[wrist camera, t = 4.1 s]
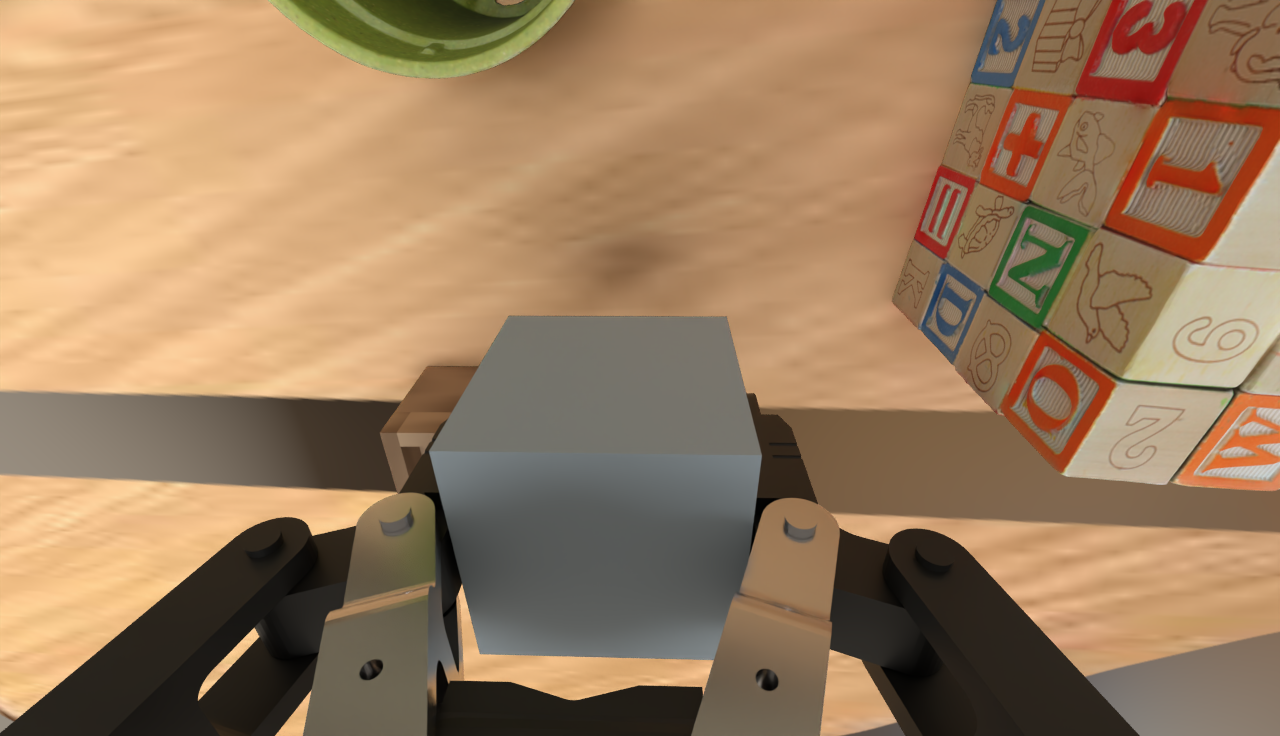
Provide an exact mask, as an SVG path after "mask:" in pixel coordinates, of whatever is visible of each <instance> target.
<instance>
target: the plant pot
mask: <svg viewBox="0 0 1280 736" xmlns="http://www.w3.org/2000/svg"><path fill="white" fill-rule="evenodd" d="M268 1H269V2H270V3H271V4H273V5H274V6H275V7H276V8H277V9H278V10H279V11H280V12H281V13H282V14H283V15H285V16H286V17H287V18H288V19H290V20H291V21H292V22H293V23H295V24H296V25H297V26H298V27H299V28H300V29H302V30H303V31H305V32H306V33H308V34H309V35H311V36H312V37H314V38H315V39H317V40H318V41H320V42H321V43H322V44H324V45H326V46H327V47H329V48H331V49H332V50H334V51H336V52H337V53H339V54H341V55H343V56H345V57H347V58H349V59H351V60H353V61H355V62H357V63H359V64H362V65H364V66H367V67H370V68H372V69H376V70H379V71H383V72H387V73H391V74H395V75H400V76H406V77H414V78H438V79H440V78H451V77H459V76H465V75H469V74H474V73H478V72H481V71H484V70H487V69H490V68H492V67H496V66H498V65H500V64H502V63H504V62H506V61H508V60H510V59H512V58H513V57H515V56H517V55H518V54H520V53H521V52H523V51H525V50H526V49H528V48H529V47H531V46H532V45H533V44H534V43H536V42H537V41H538V40H539V39H540V38H542V37H543V36H544V35H545V34H546V33H547V32H548V31H549V30H550V29H551V28H552V27H553V26H554V25H555V24H556V23H557V22H558V21H559V20H560V19H561V18H562V16H563V15H564V14H565V13H566V11H567V10H568V9H569V8H570V6H571V5H572V4H573V2H574V1H575V0H524V1H522V2H520V3H518V4H514V5H507V6H503V5H501V4H499V3H497V2H496V1H495V0H268Z"/></svg>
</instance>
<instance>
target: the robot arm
mask: <svg viewBox="0 0 1280 736" xmlns="http://www.w3.org/2000/svg"><path fill="white" fill-rule="evenodd" d="M746 395H747V399H748V403H749V407H750V411H751V415H752V419H753V423H754V426H755V430H756V434H757V438H758V442H759V446H760V450H761V454H762V458H761V466H760V474H759V482H758V490H757V498H756V506H755V514H754V522H753V530H752V538H751V546H750V554H749V560H748V564H747V567H746V571H745V574H744V577H743V581H742V584H741V587H740V590H739V592H738V591H736V592H735V594H734V596H733V599H732V602H731V605H730V609H729V612H728V615H727V618H726V622H725V625H724V628H723V632H722V635H721V638H720V642H719V645H718V648H717V652H716V655H715V658H714V661H713V665H712V668H711V671H710V675H709V678H708V681H707V685H706V688H705V691H704V695H703V691H702V687H679V686H640V685H639V686H635V687H631V688H627V689H623V690H618V691H614V692H610V693H606V694H602V695H597V696H593V697H589V698H585V699H581V700H567V699H563V698H560V697H557V696H554V695H550V694H547V693H544V692H541V691H538V690H535V689H531V688H528V687H525V686H522V685H519V684H515V683H512V682H486V681H464V667H463V648H462V628H461V609H460V600H459V597H458V593H459V590H460V587H461V585H462V581H461V577H460V573H459V569H458V565H457V561H456V557H455V553H454V549H453V545H452V541H451V537H450V533H449V529H448V525H447V521H446V517H445V513H444V509H443V505H442V501H441V497H440V493H439V489H438V485H437V481H436V477H435V473H434V469H433V465H432V461H431V457H430V453H429V450H430V449H431V447H432V445H433V444H434V442H435V440H436V439H437V437H438V435H439V433H440V432H441V430H442V428H443V427H444V425H445V423H446V422H447V420H448V419H447V420H445V421H444V422H443V423H441V424H440V426H439V428H438V429H437V431H436V433H435V434H434V436H433V438H432V442H430V443H429V444H428V446H427V448H426V449H425V453H424V454H422V456H421V458H420V459H419V461H418V463H417V464H416V466H415V468H414V469H413V471H412V473H411V474H410V476H409V478H408V479H407V481H406V483H405V484H404V486H403V488H402V489H401V491H400V493H399V494H396V495H392V496H389V497H387V498H384V499H382V500H380V501H378V502H377V503H375V504H373V505H372V506H371V507H369V508H368V509H367V510H366V511H365V512H364V513H363V514H362V516H361V517H360V518H359V520H358V522H357V526H354V527H350V528H346V529H341V530H337V531H332V532H328V533H323V534H318V535H314V536H312V534H311V532H310V530H309V527H308V525H307V524H306V523H305V522H304V521H302V520H300V519H297V518H292V517H283V518H276V519H272V520H268V521H265V522H262V523H260V524H257V525H255V526H253V527H251V528H249V529H247V530H246V531H244V532H242V533H241V534H239V535H238V536H237V537H235V538H234V539H233V540H232V541H231V542H229V543H228V544H227V545H226V546H225V547H223V548H222V549H221V550H220V551H219V552H217V553H216V554H215V555H214V556H213V557H211V558H210V559H209V560H208V561H207V562H205V563H204V564H203V565H202V566H201V567H199V568H198V569H197V570H196V571H195V572H193V573H192V574H191V575H190V576H189V577H187V578H186V579H185V580H184V581H183V582H181V583H180V584H179V585H178V586H177V587H175V588H174V589H173V590H172V591H170V592H169V593H168V594H167V595H166V596H164V597H163V598H162V599H161V600H160V601H158V602H157V603H156V604H155V605H154V606H152V607H151V608H150V609H149V610H148V611H146V612H145V613H144V614H143V615H142V616H140V617H139V618H138V619H137V620H136V621H134V622H133V623H132V624H131V625H130V626H128V627H127V628H126V629H125V630H124V631H122V632H121V633H120V634H119V635H118V636H116V637H115V638H114V639H113V640H112V641H110V642H109V643H108V644H107V645H106V646H104V647H103V648H102V649H101V650H100V651H98V652H97V653H96V654H95V655H94V656H92V657H91V658H90V659H89V660H88V661H86V662H85V663H84V664H83V665H82V666H80V667H79V668H78V669H77V670H76V671H74V672H73V673H72V674H71V675H69V676H68V677H67V678H66V679H65V680H63V681H62V682H61V683H60V684H59V685H57V686H56V687H55V688H54V689H53V690H51V691H50V692H49V693H48V694H47V695H45V696H44V697H43V698H42V699H41V700H39V701H38V702H37V703H36V704H35V705H33V706H32V707H31V708H30V709H29V710H27V711H26V712H25V713H24V714H23V715H21V716H20V717H19V718H18V719H17V720H15V721H14V722H13V723H12V724H11V725H9V726H8V727H7V728H6V729H5V730H3V731H2V732H1V733H0V736H275V735H276V734H277V732H278V731H279V730H280V729H281V727H282V726H283V725H284V724H285V722H286V721H287V720H288V719H289V717H290V716H291V715H292V714H293V712H294V711H295V710H296V709H297V707H298V706H299V705H300V704H301V702H302V701H303V700H304V698H305V697H306V696H307V695H308V693H309V692H310V691H311V690H312V691H311V696H310V701H309V707H308V712H307V717H306V722H305V727H304V733H303V736H820V730H821V721H822V712H823V703H824V694H825V685H826V677H827V668H828V659H829V650H830V649H831V650H834V651H837V652H840V653H843V654H846V655H849V656H852V657H855V658H858V659H861V660H862V662H863V664H864V666H865V668H866V669H867V671H868V673H869V674H870V676H871V678H872V679H873V681H874V683H875V685H876V686H877V688H878V690H879V691H880V693H881V695H882V697H883V698H884V700H885V702H886V703H887V705H888V707H889V709H890V710H891V712H892V714H893V715H894V717H895V719H896V721H897V722H898V724H899V725H900V727H901V729H902V731H903V732H904V734H905V736H1139V735H1138V733H1137V732H1136V731H1135V730H1134V729H1133V728H1132V727H1131V726H1130V725H1129V724H1128V723H1127V722H1126V721H1125V720H1124V718H1123V717H1122V716H1121V715H1120V714H1119V713H1118V712H1117V711H1116V710H1115V709H1114V708H1113V707H1112V706H1111V704H1109V703H1108V701H1107V700H1106V699H1105V698H1104V697H1103V696H1102V695H1101V694H1100V693H1099V692H1098V691H1097V689H1096V688H1095V687H1094V686H1093V685H1092V684H1091V683H1090V682H1089V681H1088V680H1087V679H1086V678H1085V677H1084V675H1083V674H1082V673H1081V672H1080V671H1079V670H1078V669H1077V668H1076V667H1075V666H1074V665H1073V664H1072V663H1071V662H1070V660H1069V659H1068V658H1067V657H1066V656H1065V655H1064V654H1063V653H1062V652H1061V651H1060V650H1059V649H1058V648H1057V646H1056V645H1055V644H1054V643H1053V642H1052V641H1051V640H1050V639H1049V638H1048V637H1047V636H1046V635H1045V634H1044V633H1043V631H1042V630H1041V629H1040V628H1039V627H1038V626H1037V625H1036V624H1035V623H1034V622H1033V621H1032V620H1031V619H1030V617H1029V616H1028V615H1027V614H1026V613H1025V612H1024V611H1023V610H1022V609H1021V608H1020V607H1019V606H1018V605H1017V604H1016V602H1015V601H1014V600H1013V599H1012V598H1011V597H1010V596H1009V595H1008V594H1007V593H1006V592H1005V591H1004V590H1003V588H1002V587H1001V586H1000V585H999V584H998V583H997V582H996V581H995V580H994V579H993V578H992V577H991V576H990V575H989V573H988V572H987V571H986V570H985V569H984V568H983V567H982V566H981V565H980V564H979V563H978V562H977V561H976V560H975V558H974V557H973V556H972V555H971V554H970V553H969V552H968V551H967V550H966V549H965V548H964V547H963V546H961V545H960V544H959V543H957V542H956V541H954V540H952V539H951V538H949V537H947V536H945V535H943V534H940V533H937V532H934V531H930V530H925V529H906V530H903V531H900V532H898V533H896V534H895V535H894V536H893V537H892V539H891V540H890V543H889V544H886V543H882V542H878V541H874V540H870V539H866V538H863V537H859V536H856V535H853V534H851V533H848V532H846V531H844V530H842V529H841V528H839V525H838V523H837V521H836V520H835V518H834V517H833V515H832V514H831V513H830V512H828V511H827V510H826V509H825V508H823V507H821V506H820V505H818V503H817V500H816V497H815V494H814V491H813V488H812V486H811V483H810V480H809V477H808V474H807V471H806V468H805V465H804V463H803V460H802V459H801V454H800V451H799V448H798V446H797V443H796V440H795V437H794V435H793V431H792V428H791V427H790V426H789V425H788V424H787V423H786V422H784V421H783V419H782V418H780V417H779V416H778V415H761V413H760V409H759V406H758V402H757V399H756V395H755V394H754V393H746ZM254 627H255V629H256V631H257V633H258V635H259V636H260V637H259V638H258V639H257V640H256V641H255V642H254V643H253V644H252V645H251V646H250V647H249V648H248V649H247V651H246V652H245V653H244V654H243V655H242V656H241V657H240V658H239V659H238V660H237V661H236V662H235V663H234V664H233V665H232V666H231V667H230V668H229V669H228V670H227V671H226V673H225V674H224V675H223V676H222V677H221V678H220V679H219V680H218V681H217V682H216V683H215V684H214V685H213V686H212V687H211V688H210V689H209V690H208V691H207V692H206V693H205V694H204V696H203V697H202V698H201V699H200V700H199V701H198V694H199V691H200V688H201V686H202V684H203V682H204V680H205V679H206V677H207V676H208V675H209V673H210V672H211V671H212V670H213V669H214V668H215V667H216V666H217V665H218V664H219V663H220V662H221V661H222V660H223V659H224V658H225V657H226V656H227V655H228V654H229V653H230V652H231V651H232V650H233V649H234V647H235V646H236V645H237V644H238V643H239V642H240V641H241V640H242V639H243V638H244V637H245V636H246V635H247V634H248V633H249V632H250V631H251V630H252V629H253V628H254Z"/></svg>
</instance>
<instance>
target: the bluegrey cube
mask: <svg viewBox="0 0 1280 736" xmlns="http://www.w3.org/2000/svg"><path fill="white" fill-rule="evenodd" d="M429 453H430V457H431V461H432V465H433V469H434V473H435V477H436V481H437V485H438V489H439V493H440V497H441V501H442V505H443V509H444V513H445V517H446V521H447V525H448V529H449V533H450V537H451V541H452V545H453V549H454V553H455V557H456V561H457V565H458V569H459V573H460V577H461V581H462V585H463V589H464V593H465V597H466V601H467V605H468V608H469V612H470V616H471V620H472V624H473V628H474V632H475V636H476V640H477V644H478V648H479V652H480V654H496V655H536V656H575V657H615V658H655V659H694V660H714V658H715V655H716V652H717V648H718V645H719V642H720V638H721V635H722V632H723V628H724V625H725V622H726V618H727V615H728V612H729V609H730V605H731V602H732V599H733V596H734V594H735V592H736V591H738V592H739V590H740V587H741V584H742V581H743V577H744V574H745V571H746V567H747V564H748V560H749V554H750V546H751V538H752V530H753V522H754V514H755V506H756V498H757V490H758V482H759V474H760V466H761V458H762V454H761V450H760V446H759V442H758V438H757V434H756V430H755V426H754V423H753V419H752V415H751V411H750V407H749V403H748V399H747V395H746V391H745V387H744V383H743V379H742V375H741V371H740V367H739V363H738V359H737V355H736V351H735V348H734V344H733V340H732V336H731V332H730V328H729V324H728V320H727V317H679V316H508V318H507V320H506V321H505V323H504V325H503V326H502V328H501V330H500V332H499V333H498V335H497V337H496V338H495V340H494V342H493V343H492V345H491V347H490V349H489V350H488V352H487V354H486V355H485V357H484V359H483V360H482V362H481V364H480V365H479V367H478V369H477V371H476V372H475V374H474V376H473V377H472V379H471V381H470V382H469V384H468V386H467V388H466V389H465V391H464V393H463V394H462V396H461V398H460V399H459V401H458V403H457V405H456V406H455V408H454V410H453V411H452V413H451V415H450V416H449V418H448V420H447V422H446V423H445V425H444V427H443V428H442V430H441V432H440V433H439V435H438V437H437V439H436V440H435V442H434V444H433V445H432V447H431V449H430V450H429Z"/></svg>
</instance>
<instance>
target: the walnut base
mask: <svg viewBox="0 0 1280 736" xmlns="http://www.w3.org/2000/svg"><path fill="white" fill-rule="evenodd" d="M477 369H478V367H426V369H425V370H424V372H423V373H422V374H421V376H420V377H419V379H418V380H417V381H416V383H415V384H414V386H413V387H412V388H411V390H410V391H409V393H408V394H407V395H406V397H405V398H404V400H403V401H402V402H401V404H400V405H399V407H398V408H397V409H396V411H395V412H394V414H393V415H392V416H391V418H390V419H389V421H388V422H387V423H386V425H385V426H384V427H383V429H382V430H381V432H380V435H381V439H382V442H383V446H384V449H385V452H386V455H387V459H388V463H389V466H390V469H391V473H392V476H393V480H394V483H395V486H396V489H397V493H398V494H399V493H400V491H401V489H402V488H403V486H404V484H405V483H406V481H407V479H408V478H409V476H410V474H411V473H412V471H413V469H414V468H415V466H416V464H417V463H418V461H419V459H420V458H421V456H422V454H424V453H425V449H426V448H427V446H428V444H429V443H430V442H432V438H433V436H434V434H435V433H436V431H437V429H438V428H439V426H440V424H441V423H443V422H444V421H445V420H447V419H448V418H449V416H450V415H451V413H452V411H453V410H454V408H455V406H456V405H457V403H458V401H459V399H460V398H461V396H462V394H463V393H464V391H465V389H466V388H467V386H468V384H469V382H470V381H471V379H472V377H473V376H474V374H475V372H476V371H477Z"/></svg>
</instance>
